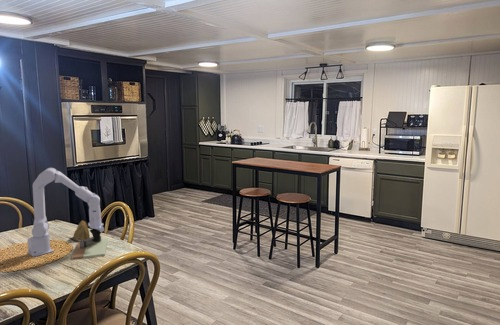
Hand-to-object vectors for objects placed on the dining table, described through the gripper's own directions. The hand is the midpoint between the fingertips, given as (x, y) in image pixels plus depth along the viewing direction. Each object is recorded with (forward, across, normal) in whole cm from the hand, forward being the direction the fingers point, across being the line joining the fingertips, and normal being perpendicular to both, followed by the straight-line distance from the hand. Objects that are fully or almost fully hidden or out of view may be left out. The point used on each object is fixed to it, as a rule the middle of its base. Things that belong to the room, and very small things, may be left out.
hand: (96, 241), depth 186 cm
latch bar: (+1, +2, +2) cm, 3 cm away
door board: (+2, -3, +5) cm, 6 cm away
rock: (+2, +17, +1) cm, 18 cm away
